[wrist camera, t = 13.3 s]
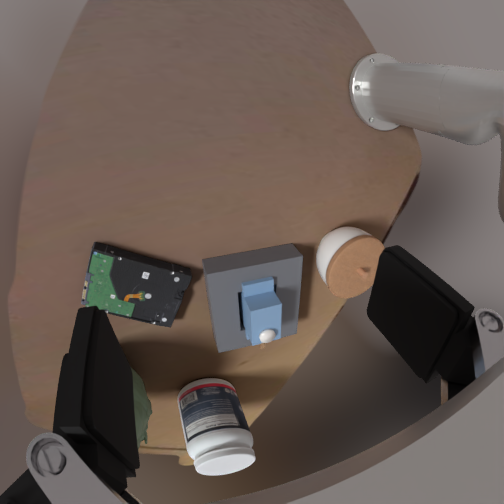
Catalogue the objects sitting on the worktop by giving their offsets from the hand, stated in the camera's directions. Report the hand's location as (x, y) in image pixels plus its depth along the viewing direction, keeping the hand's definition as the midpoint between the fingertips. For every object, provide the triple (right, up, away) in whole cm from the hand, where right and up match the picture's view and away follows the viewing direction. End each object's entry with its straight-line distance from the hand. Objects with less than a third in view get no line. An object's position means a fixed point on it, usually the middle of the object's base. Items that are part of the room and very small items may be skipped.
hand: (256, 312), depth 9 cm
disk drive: (-18, -3, +33) cm, 37 cm away
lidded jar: (+14, +3, +40) cm, 42 cm away
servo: (0, -5, +39) cm, 39 cm away
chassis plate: (0, -5, +39) cm, 39 cm away
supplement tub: (-10, -28, +49) cm, 58 cm away
